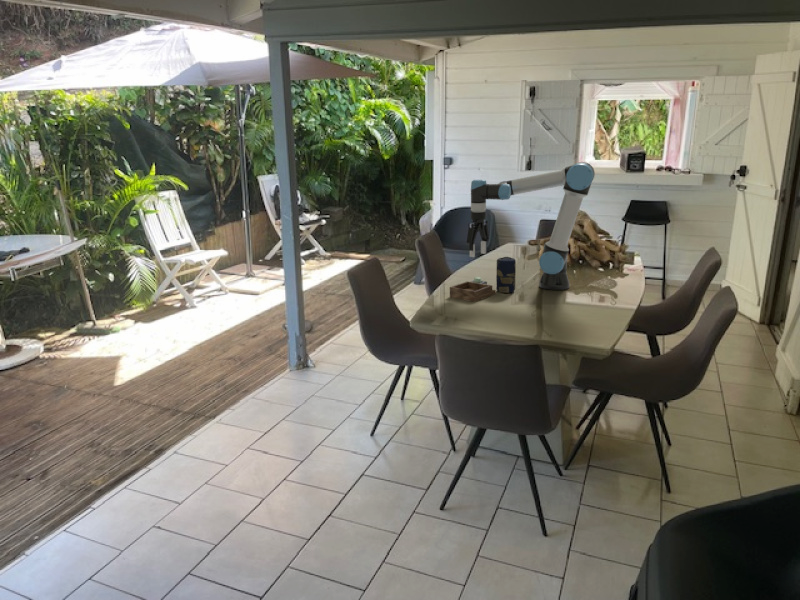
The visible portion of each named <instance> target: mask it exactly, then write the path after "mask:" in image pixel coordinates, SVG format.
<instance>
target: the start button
mask: <svg viewBox="0 0 800 600" xmlns="http://www.w3.org/2000/svg"><path fill="white" fill-rule="evenodd" d="M473 280H474V282H475V283H481V281H482V277H474V278H473Z"/></svg>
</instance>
